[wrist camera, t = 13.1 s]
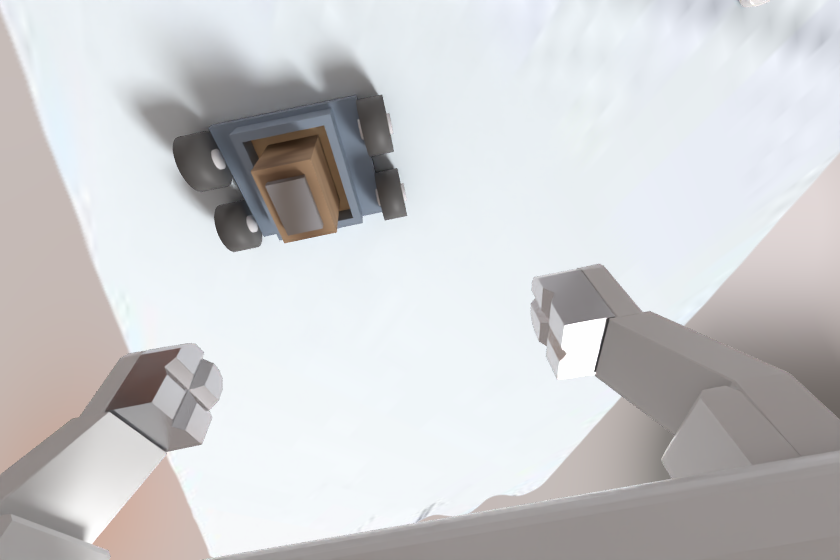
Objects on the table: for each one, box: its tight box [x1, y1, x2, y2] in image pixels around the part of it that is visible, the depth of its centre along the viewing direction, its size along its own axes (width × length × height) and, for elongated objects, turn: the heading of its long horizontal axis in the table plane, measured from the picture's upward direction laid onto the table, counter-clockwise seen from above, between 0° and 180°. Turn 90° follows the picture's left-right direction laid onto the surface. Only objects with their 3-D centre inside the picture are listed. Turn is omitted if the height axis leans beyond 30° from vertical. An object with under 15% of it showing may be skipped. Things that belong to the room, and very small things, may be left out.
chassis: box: [173, 95, 407, 252], centre depth 36 cm, size 19×12×5 cm, turn 99°
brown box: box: [251, 134, 340, 243], centre depth 34 cm, size 5×7×8 cm
